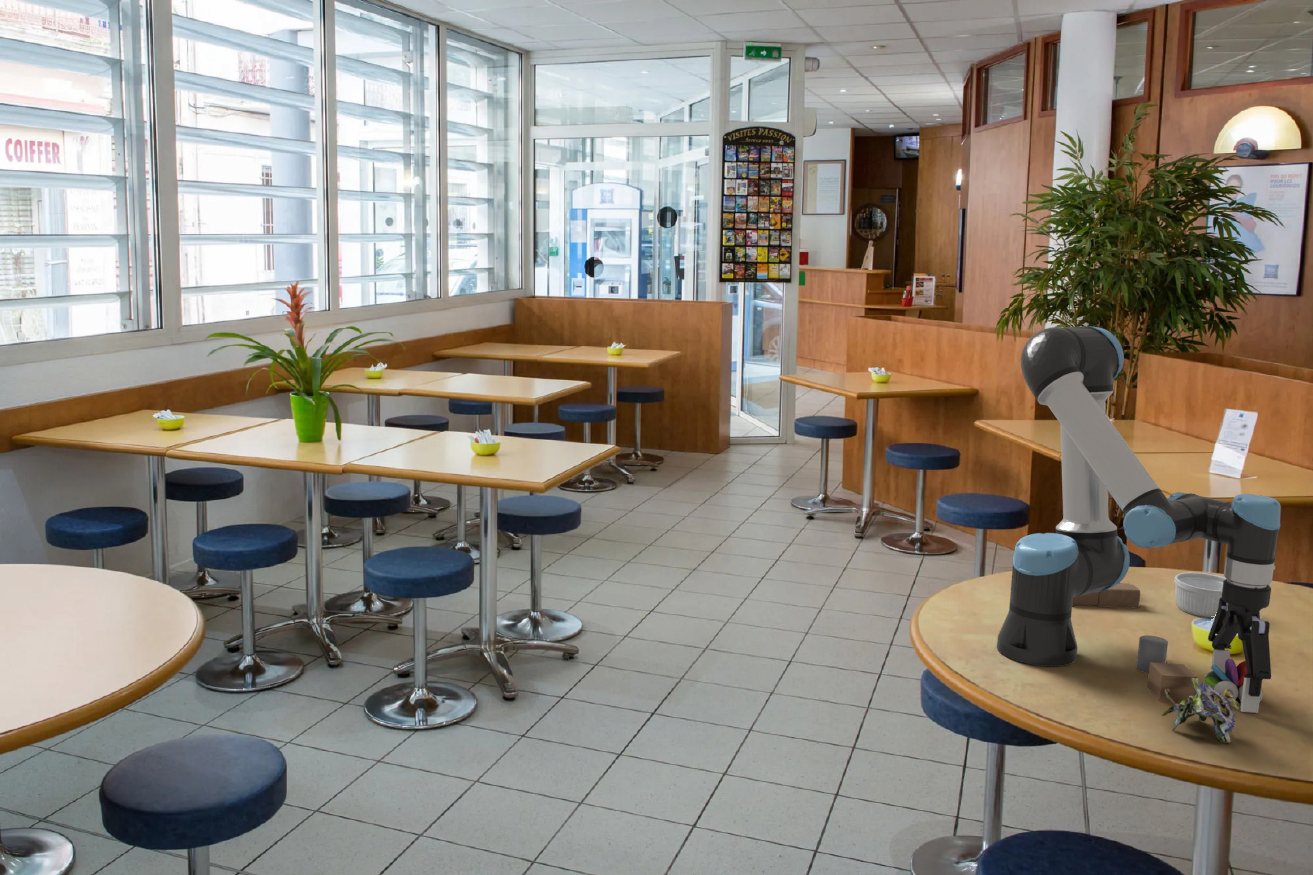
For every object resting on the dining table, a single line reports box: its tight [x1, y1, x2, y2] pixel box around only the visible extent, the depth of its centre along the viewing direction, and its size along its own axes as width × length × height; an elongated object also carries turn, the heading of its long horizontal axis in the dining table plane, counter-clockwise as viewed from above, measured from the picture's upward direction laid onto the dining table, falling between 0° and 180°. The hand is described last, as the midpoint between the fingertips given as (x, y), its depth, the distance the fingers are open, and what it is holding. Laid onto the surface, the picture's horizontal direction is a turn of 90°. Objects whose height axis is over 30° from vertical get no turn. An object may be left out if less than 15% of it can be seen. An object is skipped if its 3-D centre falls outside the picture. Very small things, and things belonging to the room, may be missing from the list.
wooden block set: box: [1072, 582, 1141, 609], centre depth 250 cm, size 17×6×18 cm
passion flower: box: [1161, 677, 1241, 744], centre depth 178 cm, size 11×11×12 cm
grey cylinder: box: [1136, 634, 1169, 675], centre depth 205 cm, size 5×5×6 cm
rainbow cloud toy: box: [1203, 658, 1264, 703], centre depth 193 cm, size 8×10×7 cm
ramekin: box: [1174, 572, 1227, 618], centre depth 241 cm, size 13×13×7 cm
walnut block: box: [1146, 662, 1198, 703], centre depth 193 cm, size 6×6×5 cm
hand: (1232, 697), depth 193 cm, fingers open, 12 cm apart
